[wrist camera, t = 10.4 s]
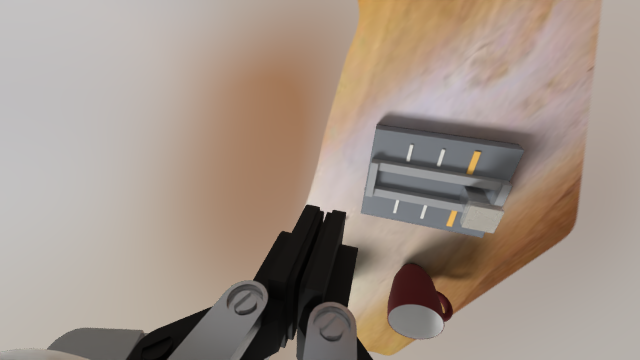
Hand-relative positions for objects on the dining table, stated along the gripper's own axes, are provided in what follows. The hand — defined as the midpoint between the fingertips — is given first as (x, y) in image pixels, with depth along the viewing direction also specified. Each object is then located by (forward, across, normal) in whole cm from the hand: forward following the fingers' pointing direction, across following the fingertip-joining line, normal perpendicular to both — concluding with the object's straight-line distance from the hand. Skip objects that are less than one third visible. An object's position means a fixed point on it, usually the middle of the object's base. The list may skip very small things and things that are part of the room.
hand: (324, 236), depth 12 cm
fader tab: (+27, -15, +11) cm, 33 cm away
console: (+29, -10, +11) cm, 33 cm away
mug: (+29, -13, +30) cm, 44 cm away
